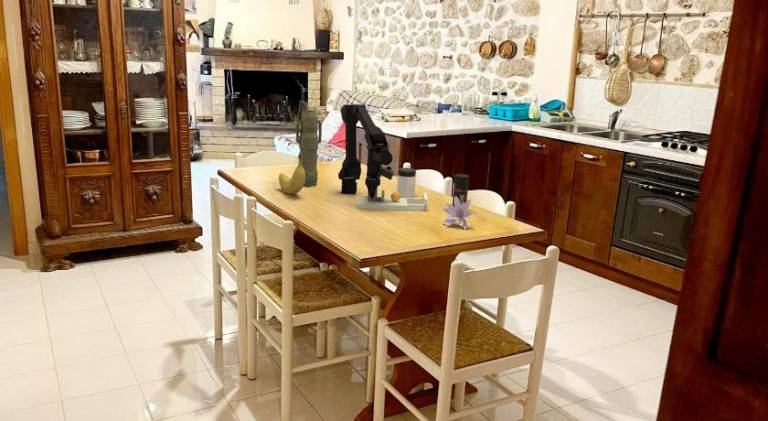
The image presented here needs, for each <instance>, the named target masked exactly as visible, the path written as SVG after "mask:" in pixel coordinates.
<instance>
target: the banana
mask: <svg viewBox="0 0 768 421" xmlns="http://www.w3.org/2000/svg"><path fill="white" fill-rule="evenodd" d="M297 158H298V165H297V166H296V168H295V169H294V171H293V173H292V176H291V177H288V175H286V174H285V173H282V172H281V173H279V174H278V183H279V185H280V188H281V190H282V191H283V192H284V193H286V194H289V195H295V194H298V193H299V192H301V191H302V189H303V188H304V187H303V186H304V183H305V171H304V169H303V167H302V164H301V159H302V153H300V152H299V153H298V156H297Z"/></svg>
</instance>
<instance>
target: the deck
mask: <svg viewBox="0 0 768 421" xmlns="http://www.w3.org/2000/svg"><path fill="white" fill-rule="evenodd" d="M367 198H368V195H357V200H356V209H365V210H367V209H368V210H382V211H383V210H386V211H405V212H407V211H408V210H407V198H405V197H400V199H399V200H398V201H393V200H392V199H391V196H390V197H389V196H384V202H381V201H367Z"/></svg>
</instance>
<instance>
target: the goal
mask: <svg viewBox="0 0 768 421" xmlns="http://www.w3.org/2000/svg"><path fill="white" fill-rule="evenodd" d="M428 203H429V202H428V196H427V193H426V192H423V193H422V197H409V198H408V197H407V211H415V212H416V211H418V212H419V211H420V212H427V211H428Z"/></svg>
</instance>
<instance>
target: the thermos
mask: <svg viewBox="0 0 768 421" xmlns="http://www.w3.org/2000/svg"><path fill="white" fill-rule="evenodd" d="M322 129H323V124H322V122H321V121H320V120H318V114H317V111H315V110H312V109H304V110H302V113H301V116H300V119H299V120H297V121H296V124H295V142H296V143H297V144H298V148H299V153H302V159H301V164H302V167H303V169H304V171H305V183H304V186H305V187H304V188H312V187H311V186H315V187H317V186H318V179H319V178H318V177H319V176H318V175H319V172H318V169H317V168H318V167H317V163H318V150H319V144H321V143H322V131H323V130H322ZM316 185H317V186H316Z"/></svg>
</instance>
